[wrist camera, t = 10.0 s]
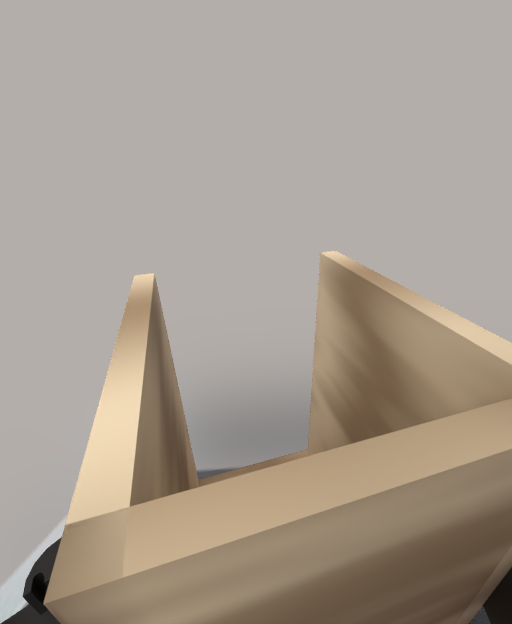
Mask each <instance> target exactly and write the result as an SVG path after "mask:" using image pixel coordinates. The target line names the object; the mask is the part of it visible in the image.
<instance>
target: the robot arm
mask: <svg viewBox="0 0 512 624" xmlns="http://www.w3.org/2000/svg"><path fill="white" fill-rule="evenodd" d="M61 538H62V537H61ZM61 538H60V539H59V540H57V541H56V542H55V543H54V544H52V545H51V546H50V547H48V548H47V549H46V550H45V552H44V553H43V554H42V555H41V556H40V558H39V559H38V560H37V561H36V562H35V564H34V566H33V567H32V569H31V571H30V573H29V575H28V577H27V579H26V582H25V588H24V593H23V598H24V599H25V600H26V601H27V602H28V603H29V605H28V606H26V607H25V608H24V609H22V610H21V611H19V612H17V613H16V614H14V615H13V616H11V617H10V618H8V619H7V620H5V621H4V622H2V623H1V624H61V623H60V622H59V621H58V620H57V619H56V618H55V617H54V615H53V614H52V613H51V612H50V611H49V610H48V609H47V608H46V607H45V605H44V604H43V603H44V599H45V596H46V592H47V589H48V585H49V581H50V578H51V574H52V571H53V567H54V563H55V560H56V556H57V553H58V549H59V545H60V542H61ZM483 606H484V608H485V611H486V613H487V615H488V617H489V620H490V622H491V624H512V567H511V569H510V570H509V571H508V573H507V574H506V575H505V576H504V578H503V579H502V580H501V582H500V583H499V584H498V586H497V587H496V588H495V590H494V591H493V592H492V593H491V595H490V596H489V597H488V599H487V600H486V601H485V603H484V604H483Z"/></svg>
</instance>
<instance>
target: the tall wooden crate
mask: <svg viewBox="0 0 512 624" xmlns="http://www.w3.org/2000/svg"><path fill="white" fill-rule="evenodd" d="M511 567H512V343H510V342H508V341H506V340H505V339H502V338H501V337H498V336H497V335H495V334H493V333H491V332H489V331H487V330H485V329H484V328H481V327H480V326H478V325H476V324H474V323H472V322H470V321H468V320H466V319H464V318H463V317H461V316H459V315H456V314H455V313H453V312H451V311H449V310H447V309H445V308H443V307H441V306H439V305H438V304H436V303H434V302H432V301H430V300H428V299H426V298H424V297H422V296H420V295H419V294H417V293H415V292H413V291H411V290H409V289H407V288H405V287H403V286H401V285H400V284H398V283H396V282H394V281H392V280H390V279H388V278H386V277H384V276H382V275H380V274H379V273H377V272H375V271H373V270H371V269H369V268H367V267H365V266H363V265H361V264H359V263H358V262H356V261H353V260H352V259H350V258H348V257H346V256H344V255H342V254H340V253H338V252H336V251H330V252H322V253H320V267H319V283H318V298H317V313H316V330H315V346H314V360H313V377H312V392H311V408H310V423H309V438H308V449H307V450H304V451H300V452H296V453H293V454H289V455H286V456H282V457H279V458H275V459H271V460H268V461H264V462H260V463H257V464H253V465H250V466H246V467H242V468H239V469H235V470H232V471H228V472H224V473H221V474H217V475H214V476H210V477H206V478H203V479H199V480H198V476H197V472H196V467H195V463H194V458H193V453H192V448H191V444H190V439H189V434H188V429H187V425H186V420H185V415H184V411H183V406H182V401H181V396H180V392H179V387H178V382H177V378H176V373H175V368H174V364H173V359H172V355H171V350H170V345H169V340H168V336H167V330H166V326H165V321H164V317H163V312H162V307H161V302H160V297H159V293H158V288H157V283H156V279H155V274H154V273H151V274H144V275H135V276H134V279H133V283H132V287H131V290H130V294H129V297H128V301H127V305H126V308H125V312H124V315H123V319H122V323H121V326H120V330H119V333H118V337H117V341H116V344H115V348H114V351H113V355H112V359H111V362H110V366H109V369H108V373H107V377H106V380H105V384H104V387H103V391H102V395H101V399H100V402H99V405H98V409H97V412H96V416H95V420H94V423H93V427H92V430H91V434H90V438H89V441H88V445H87V449H86V452H85V456H84V459H83V463H82V466H81V470H80V474H79V477H78V481H77V484H76V488H75V492H74V495H73V499H72V503H71V506H70V510H69V513H68V517H67V520H66V524H65V528H64V531H63V535H62V538H61V542H60V545H59V549H58V553H57V556H56V560H55V563H54V567H53V571H52V574H51V578H50V581H49V585H48V589H47V592H46V596H45V599H44V603H43V604H44V605H45V607H46V608H47V609H48V610H49V611H50V612H51V613H52V614H53V615H54V617H55V618H56V619H57V620H58V621H59V622H60V623H61V624H469V623H470V622H471V621H472V619H473V618H474V617H475V616H476V614H477V613H478V612H479V610H480V609H481V608H482V606H483V604H484V603H485V601H486V600H487V599H488V597H489V596H490V595H491V593H492V592H493V591H494V590H495V588H496V587H497V586H498V584H499V583H500V582H501V580H502V579H503V578H504V576H505V575H506V574H507V573H508V571H509V570H510V569H511Z"/></svg>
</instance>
